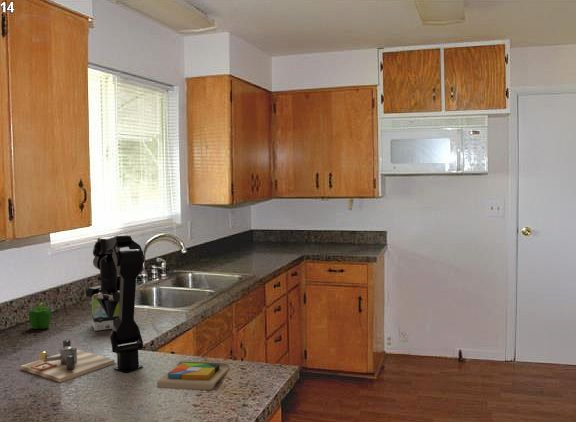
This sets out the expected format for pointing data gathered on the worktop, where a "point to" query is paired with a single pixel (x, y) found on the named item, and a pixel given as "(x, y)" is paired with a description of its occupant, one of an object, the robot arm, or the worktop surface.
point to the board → (60, 372)
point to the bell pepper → (40, 317)
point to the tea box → (102, 315)
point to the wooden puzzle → (194, 375)
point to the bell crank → (63, 355)
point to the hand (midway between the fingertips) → (110, 318)
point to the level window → (43, 366)
